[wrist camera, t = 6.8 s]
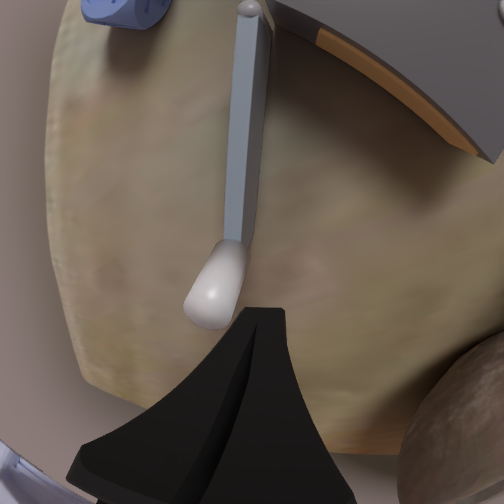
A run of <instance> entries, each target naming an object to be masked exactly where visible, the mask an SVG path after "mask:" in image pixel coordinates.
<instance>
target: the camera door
mask: <svg viewBox="0 0 504 504" xmlns="http://www.w3.org/2000/svg"><path fill="white" fill-rule="evenodd" d="M237 11H238V14H239V15H238V19H237V30H236V41H235V52H234V64H233V77H232V90H231V104H230V119H229V135H228V152H227V171H226V192H225V215H224V240H221V241H219V242H218V243H217V244H216V245H215V247H214V248H213V250H212V252H211V254H210V256H209V257H208V259H207V261H206V263H205V265H204V266H203V268H202V270H201V272H200V274H199V276H198V277H197V279H196V281H195V283H194V285H193V287H192V288H191V290H190V292H189V294H188V296H187V298H186V299H185V302H184V311H185V313H186V315H187V317H188V318H189V319H190V320H191V321H192V322H193V323H194V324H196V325H197V326H199V327H201V328H204V329H208V330H219V329H222V328H225V327H226V326H227V325H228V324H229V323H230V321H231V318H232V315H233V312H234V309H235V306H236V303H237V300H238V297H239V294H240V290H241V287H242V284H243V281H244V278H245V275H246V272H247V269H248V266H249V263H250V252H249V250H248V247H249V245H250V242H251V239H252V236H253V233H254V226H255V215H256V204H257V193H258V182H259V170H260V159H261V148H262V137H263V126H264V114H265V103H266V92H267V81H268V70H269V58H270V47H271V36H272V34H273V31H272V29H271V27H270V25H269V23H268V21H267V19H266V17H265V14H264V12H263V10H262V8H261V6H260V5H259V3H258V2H256V1H254V0H245V1H242V2H241V3H240V4H239V5H238V8H237Z"/></svg>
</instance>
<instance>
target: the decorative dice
mask: <svg viewBox="0 0 504 504" xmlns="http://www.w3.org/2000/svg"><path fill="white" fill-rule="evenodd" d="M171 1H172V0H81V11H82V14H83V17H84V19H85V21H86V22H89V23H94V24H100V25H107V26H114V27H121V28H129V29H137V30H146V29H148V28H150V27H151V26H153V25H154V24H155V23H157V22H158V21H159V20H160V19H161V18H162V17H163V16H164V14H165V13H166V11H167V10H168V8H169V6H170V4H171Z"/></svg>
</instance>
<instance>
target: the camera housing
mask: <svg viewBox="0 0 504 504" xmlns="http://www.w3.org/2000/svg"><path fill="white" fill-rule="evenodd" d="M265 1H266V3H267V6H268V8H269V11H270V13H271V15H272V18H273V20H274V23H275V25H277V26H280V27H282V28H284V29H286V30H288V31H290V32H292V33H294V34H296V35H298V36H300V37H302V38H304V39H306V40H308V41H310V42H312V43H314V44H315V45H317V46H318V47H320V48H322V49H324V50H326V51H327V52H329V53H331V54H332V55H334V56H336V57H337V58H339V59H341V60H342V61H344V62H346V63H347V64H349V65H350V66H352V67H354V68H355V69H357V70H358V71H360V72H361V73H363V74H364V75H366V76H367V77H369V78H370V79H371V80H373V81H374V82H376V83H377V84H378V85H380V86H381V87H383V88H384V89H385V90H387V91H388V92H389V93H391V94H392V95H393V96H395V97H396V98H397V99H398V100H400V101H401V102H402V103H404V104H405V105H406V106H407V107H408V108H410V109H411V110H412V111H413V112H415V113H416V114H417V115H418V116H419V117H420V118H422V119H423V120H424V121H425V122H426V123H427V124H428V125H429V126H431V127H432V128H433V129H434V130H435V131H436V132H437V133H438V134H439V135H440V136H441V137H442V138H443V139H445V140H446V141H447V142H448V143H449V144H451V145H453V146H456V147H458V148H460V149H462V150H465V151H467V152H469V153H471V154H473V155H475V156H478V157H480V158H482V159H484V160H486V161H488V162H490V163H492V164H495V162H496V160H497V159H498V157H499V155H500V154H501V152H502V150H503V149H504V0H265Z"/></svg>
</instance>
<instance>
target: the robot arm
mask: <svg viewBox="0 0 504 504" xmlns="http://www.w3.org/2000/svg"><path fill="white" fill-rule="evenodd" d="M66 480H67V481H68V482H69V483H70V484H72V485H74V486H76V487H78V488H79V489H81V490H83V491H84V492H86V493H88V494H90V495H92V496H94V497H96V498H98V501H97V503H96V504H357V502H356V500H355V496H354V493H353V492H352V490H351V488H350V487H349V485H348V484H347V482H346V481H345V479H344V478H343V476H342V475H341V473H340V471H339V470H338V468H337V466H336V465H335V463H334V461H333V460H332V458H331V456H330V454H329V453H328V451H327V449H326V447H325V445H324V443H323V441H322V439H321V437H320V435H319V433H318V431H317V429H316V427H315V425H314V423H313V421H312V418H311V416H310V414H309V412H308V409H307V407H306V404H305V402H304V399H303V397H302V394H301V392H300V389H299V386H298V383H297V380H296V377H295V374H294V370H293V367H292V364H291V360H290V356H289V351H288V347H287V338H286V321H285V310H284V309H282V308H260V307H245V308H244V309H242V311H241V312H240V314H239V315H238V317H237V318H236V319H235V321H234V322H233V324H232V325H231V326H230V328H229V329H228V330H227V332H226V333H225V334H224V336H223V337H222V338H221V339H220V341H219V342H218V343H217V344H216V346H215V347H214V348H213V349H212V350H211V352H210V353H209V354H208V355H207V356H206V357H205V358H204V360H203V361H202V362H201V363H200V364H199V365H198V366H197V367H196V368H195V369H194V370H193V371H192V372H191V373H190V374H189V375H188V376H187V377H186V378H185V379H184V380H183V381H182V382H181V383H180V384H179V385H178V386H177V387H175V388H174V389H173V390H172V391H171V392H170V393H169V394H167V395H166V396H165V397H163V398H162V399H161V400H160V401H158V402H157V403H156V404H155V405H153V406H152V407H151V408H149V409H148V410H146V411H145V412H144V413H142V414H140V415H139V416H137V417H136V418H134V419H132V420H131V421H129V422H128V423H126V424H124V425H123V426H121V427H119V428H118V429H116V430H114V431H112V432H110V433H108V434H106V435H104V436H102V437H100V438H97V439H96V440H93V441H91V442H89V443H86V444H84V445H82V446H81V448H80V450H79V451H78V453H77V455H76V457H75V459H74V461H73V463H72V465H71V468H70V470H69V472H68V474H67V476H66ZM0 504H95V503H93V502H91V501H89V500H87V499H85V498H83V497H82V496H80V495H78V494H76V493H74V492H73V491H71V490H70V489H68V488H66V487H65V486H63V485H61V484H60V483H58V482H57V481H55V480H54V479H52V478H51V477H49V476H47V475H46V474H45V473H43V471H42V470H40V469H39V468H37V467H36V466H34V465H33V464H32V463H31V462H29V461H28V460H27V459H25V458H24V457H22V456H21V455H20V454H18V453H17V452H15V451H14V450H13V449H12V448H10V447H9V446H8V445H7V444H6V443H5V442H3V441H2V440H1V439H0Z"/></svg>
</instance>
